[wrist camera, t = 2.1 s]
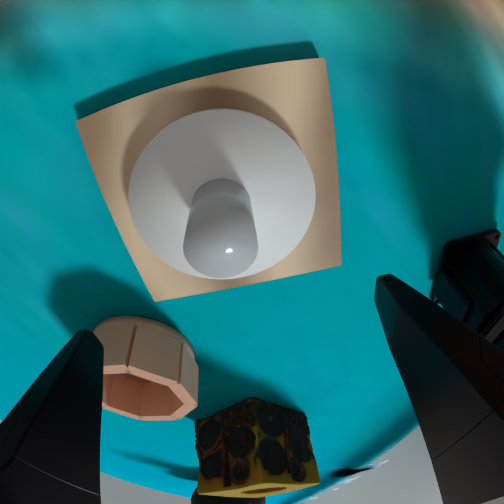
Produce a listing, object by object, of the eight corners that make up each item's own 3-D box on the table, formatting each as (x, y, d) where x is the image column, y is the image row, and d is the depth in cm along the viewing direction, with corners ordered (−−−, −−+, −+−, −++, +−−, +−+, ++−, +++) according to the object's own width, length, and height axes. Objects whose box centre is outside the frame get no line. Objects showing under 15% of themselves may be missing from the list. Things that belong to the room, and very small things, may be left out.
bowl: (171, 307, 20) (164, 361, 16) (208, 373, 25) (209, 417, 22) (72, 322, 20) (56, 367, 17) (123, 380, 26) (116, 420, 22)
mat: (319, 57, 12) (324, 57, 11) (337, 257, 19) (341, 265, 18) (81, 118, 12) (75, 121, 12) (156, 293, 19) (154, 301, 19)
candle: (193, 420, 32) (193, 494, 24) (251, 394, 28) (260, 483, 20) (251, 436, 37) (257, 498, 29) (308, 413, 33) (322, 484, 25)
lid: (297, 90, 12) (328, 104, 8) (317, 250, 17) (340, 305, 14) (109, 139, 12) (67, 173, 9) (168, 280, 18) (157, 339, 14)
